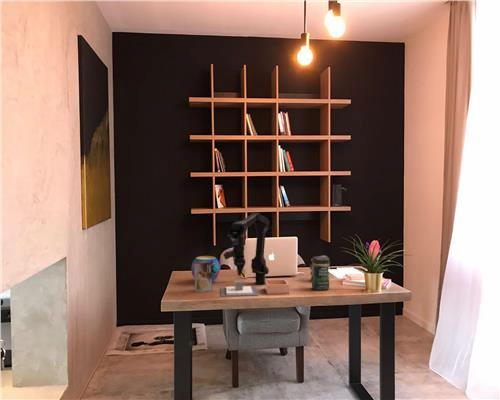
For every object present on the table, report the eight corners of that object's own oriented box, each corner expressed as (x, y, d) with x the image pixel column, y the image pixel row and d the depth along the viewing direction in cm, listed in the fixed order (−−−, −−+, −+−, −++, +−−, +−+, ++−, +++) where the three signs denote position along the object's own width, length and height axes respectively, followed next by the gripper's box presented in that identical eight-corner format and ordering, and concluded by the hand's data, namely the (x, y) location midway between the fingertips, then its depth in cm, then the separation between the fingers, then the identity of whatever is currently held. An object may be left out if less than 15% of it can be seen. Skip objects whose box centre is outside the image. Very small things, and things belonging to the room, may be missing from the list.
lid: (226, 288, 240) (226, 278, 239) (250, 287, 241) (250, 278, 240) (226, 294, 226) (226, 284, 225) (252, 294, 227) (252, 284, 226)
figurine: (331, 281, 256) (331, 257, 256) (313, 282, 254) (313, 258, 253) (325, 278, 265) (325, 254, 265) (308, 279, 263) (308, 255, 262)
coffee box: (210, 288, 241) (210, 260, 241) (212, 291, 235) (212, 262, 235) (194, 289, 239) (194, 261, 238) (196, 292, 233) (196, 263, 232)
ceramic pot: (192, 286, 247) (192, 260, 246) (190, 279, 264) (190, 255, 264) (221, 284, 250) (221, 259, 250) (218, 277, 268) (218, 254, 267)
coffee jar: (314, 291, 235) (314, 257, 234) (310, 287, 242) (310, 255, 242) (331, 290, 236) (331, 257, 235) (326, 286, 244) (326, 255, 243)
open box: (264, 288, 240) (264, 279, 240) (285, 288, 241) (285, 279, 241) (267, 294, 228) (267, 285, 228) (289, 293, 229) (289, 284, 229)
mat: (220, 288, 241) (220, 287, 241) (255, 287, 242) (255, 287, 242) (220, 296, 224) (220, 295, 224) (258, 295, 225) (258, 294, 225)
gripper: (223, 243, 241) (224, 270, 241) (224, 248, 222) (224, 277, 223) (243, 243, 242) (243, 270, 242) (245, 248, 223) (245, 277, 224)
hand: (238, 273), depth 233 cm, fingers open, 9 cm apart
